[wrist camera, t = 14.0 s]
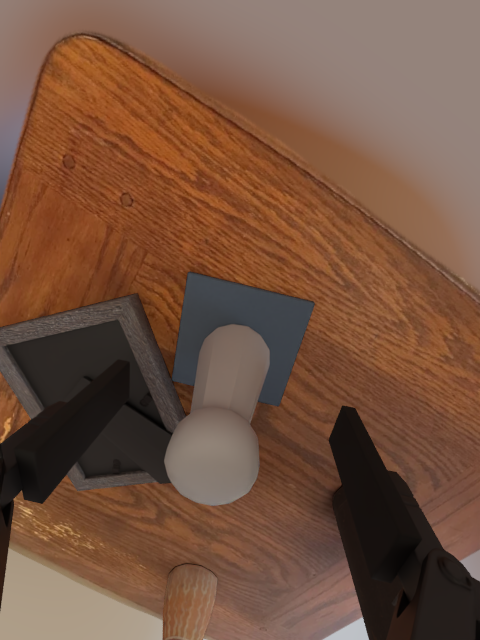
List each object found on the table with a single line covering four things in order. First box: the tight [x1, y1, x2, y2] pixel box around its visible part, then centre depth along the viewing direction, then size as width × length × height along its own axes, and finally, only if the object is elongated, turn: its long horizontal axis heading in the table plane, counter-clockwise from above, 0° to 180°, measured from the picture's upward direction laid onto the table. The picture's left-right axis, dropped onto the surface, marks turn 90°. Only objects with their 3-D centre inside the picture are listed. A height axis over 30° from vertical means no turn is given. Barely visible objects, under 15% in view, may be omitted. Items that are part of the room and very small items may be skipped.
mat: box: [172, 272, 315, 406], centre depth 23 cm, size 11×11×1 cm
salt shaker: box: [164, 324, 270, 506], centre depth 16 cm, size 6×6×13 cm
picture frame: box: [0, 293, 186, 491], centre depth 26 cm, size 16×2×21 cm
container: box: [333, 486, 403, 640], centre depth 19 cm, size 9×9×20 cm
